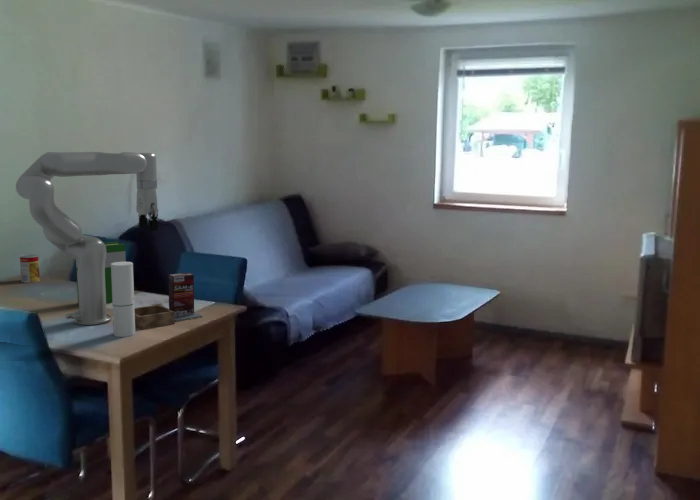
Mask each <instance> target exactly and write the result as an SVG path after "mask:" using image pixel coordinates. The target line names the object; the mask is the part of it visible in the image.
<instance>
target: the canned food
mask: <svg viewBox="0 0 700 500" xmlns="http://www.w3.org/2000/svg"><path fill="white" fill-rule="evenodd" d="M39 259H40V258H39V254H32V253H31V254H22V255H20V256H19V264H20V279H21V280H20V282H21V283H23V282H24V283H25V284H29V283H31V282H33V283H38V282H40V281H41V280H40V277H41V276H40V260H39ZM37 281H38V282H37ZM24 283H23V284H24Z"/></svg>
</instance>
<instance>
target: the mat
mask: <svg viewBox="0 0 700 500" xmlns="http://www.w3.org/2000/svg"><path fill="white" fill-rule="evenodd" d="M197 317H200V318H203V315H202V314H200V313H198V312H195V311H194V315H186V316H179V317H175V322H176V323H177V322H181V321H180V320H182V321H187V320H186V319H188V320H192V319H191V318H194V319H198V318H197Z"/></svg>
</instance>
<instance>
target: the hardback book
mask: <svg viewBox="0 0 700 500" xmlns="http://www.w3.org/2000/svg"><path fill="white" fill-rule="evenodd" d="M103 243H104V244H105V246H106V260H105V287H106V305H107V304H113V302H112V278H111V263H114V262H127V261H126V260H127V259H126V244H125V243H120V242H119V241H112V242H111V241H110V242H109V241H108V242H103ZM79 261H80V260H77V259H75V268H76V272H75V273H77V272H78V266H79ZM76 287H77V288H76V289H77V292H78V279H77V278H76ZM77 305H79V296H78V295H77Z"/></svg>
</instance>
